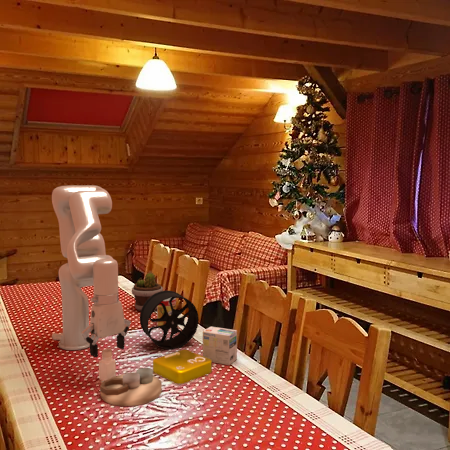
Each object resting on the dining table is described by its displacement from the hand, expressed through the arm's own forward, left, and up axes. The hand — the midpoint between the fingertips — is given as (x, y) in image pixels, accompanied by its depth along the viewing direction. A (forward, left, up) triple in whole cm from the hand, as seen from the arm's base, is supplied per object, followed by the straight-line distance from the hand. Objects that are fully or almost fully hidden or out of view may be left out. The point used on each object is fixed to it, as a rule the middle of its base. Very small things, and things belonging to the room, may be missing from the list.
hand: (107, 352), depth 156 cm
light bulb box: (+36, +17, -10) cm, 40 cm away
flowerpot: (+3, +79, -9) cm, 79 cm away
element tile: (+23, +7, -10) cm, 26 cm away
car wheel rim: (+17, +32, -9) cm, 37 cm away
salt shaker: (0, +1, -9) cm, 9 cm away
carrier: (+9, -8, -9) cm, 15 cm away
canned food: (+14, +55, -9) cm, 57 cm away
